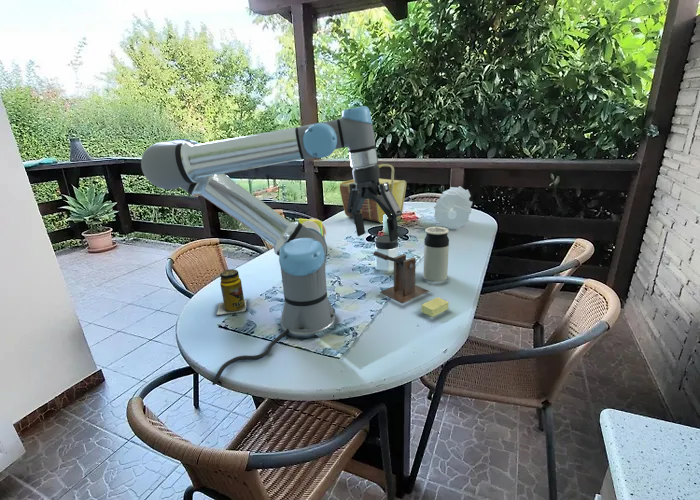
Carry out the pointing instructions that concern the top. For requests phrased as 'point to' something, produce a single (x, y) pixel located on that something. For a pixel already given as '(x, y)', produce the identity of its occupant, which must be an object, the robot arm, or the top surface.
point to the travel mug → (436, 254)
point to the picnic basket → (371, 207)
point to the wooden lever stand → (404, 282)
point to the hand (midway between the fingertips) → (377, 237)
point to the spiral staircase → (453, 208)
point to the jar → (385, 248)
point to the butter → (434, 306)
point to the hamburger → (314, 225)
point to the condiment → (231, 293)
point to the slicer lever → (389, 258)
